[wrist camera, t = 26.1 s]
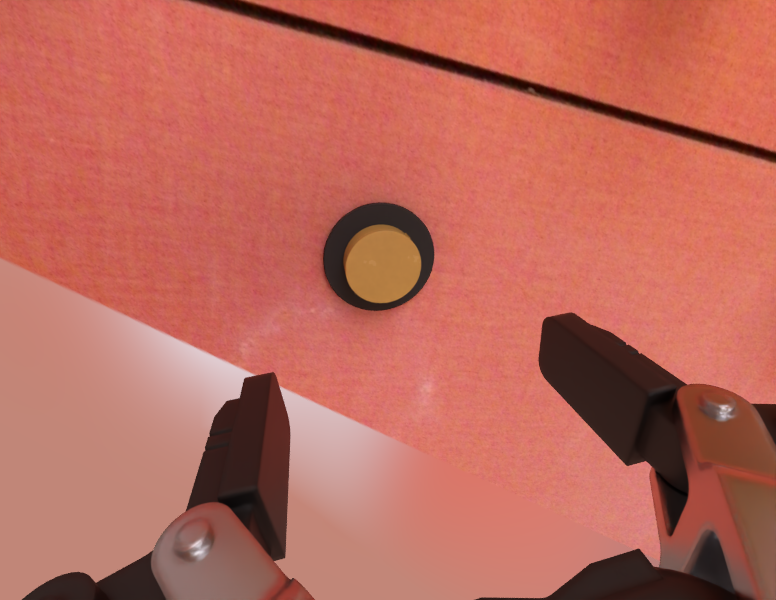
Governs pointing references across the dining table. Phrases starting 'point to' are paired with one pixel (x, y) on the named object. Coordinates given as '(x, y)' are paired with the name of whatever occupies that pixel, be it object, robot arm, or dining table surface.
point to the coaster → (364, 219)
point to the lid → (381, 263)
